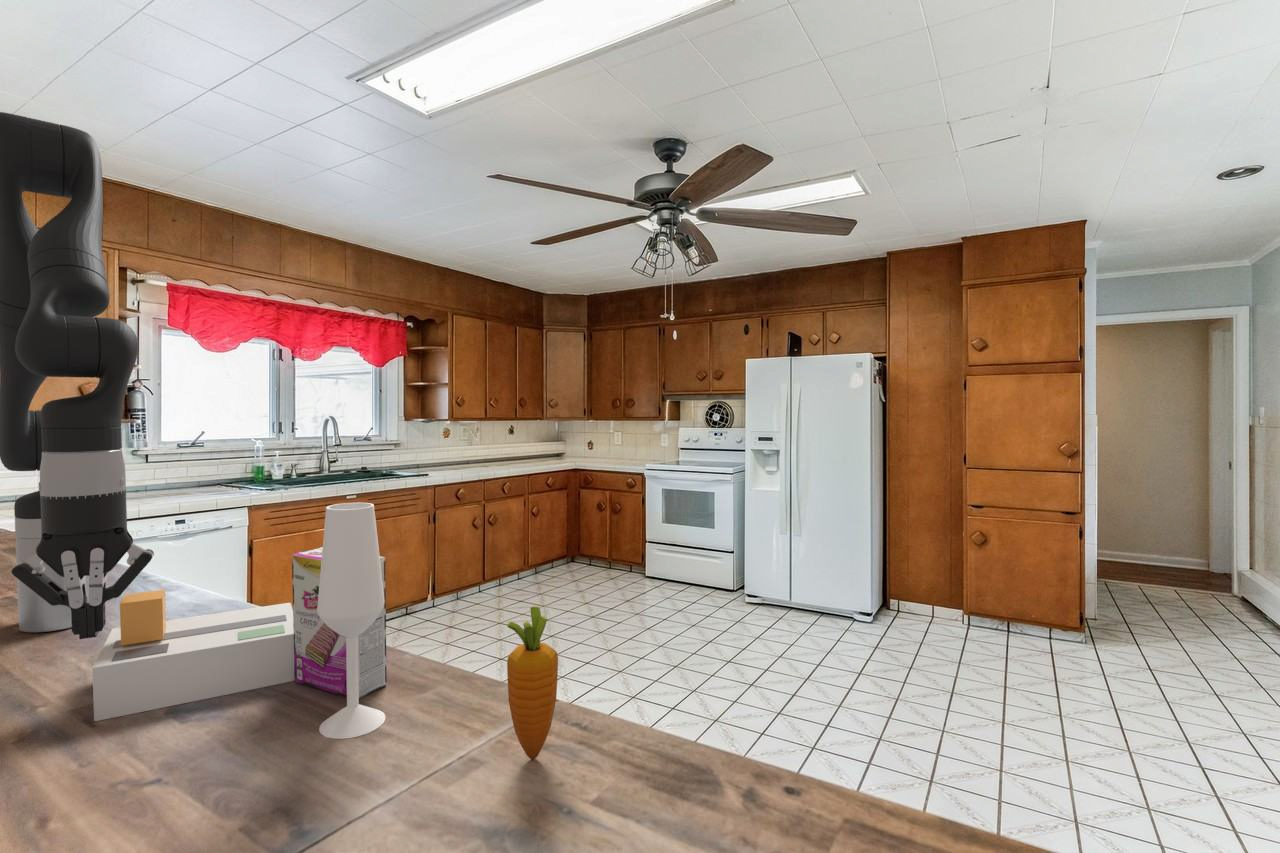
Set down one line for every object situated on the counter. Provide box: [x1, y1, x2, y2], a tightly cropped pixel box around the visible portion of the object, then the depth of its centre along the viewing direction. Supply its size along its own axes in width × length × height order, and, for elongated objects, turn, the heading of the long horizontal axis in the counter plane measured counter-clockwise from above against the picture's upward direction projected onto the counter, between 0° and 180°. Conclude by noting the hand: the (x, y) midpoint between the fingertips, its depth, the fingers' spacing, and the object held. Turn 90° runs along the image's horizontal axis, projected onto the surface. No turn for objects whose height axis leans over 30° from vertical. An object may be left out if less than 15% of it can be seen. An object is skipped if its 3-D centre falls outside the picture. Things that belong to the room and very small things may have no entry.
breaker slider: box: [119, 589, 167, 646], centre depth 78 cm, size 4×4×5 cm
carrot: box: [506, 605, 559, 761], centre depth 63 cm, size 5×5×15 cm
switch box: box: [92, 602, 295, 722], centre depth 81 cm, size 14×20×6 cm
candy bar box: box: [291, 546, 388, 700], centre depth 79 cm, size 11×5×16 cm, turn 65°
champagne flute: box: [317, 502, 386, 740], centre depth 70 cm, size 7×7×24 cm
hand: (89, 636), depth 75 cm, fingers closed
